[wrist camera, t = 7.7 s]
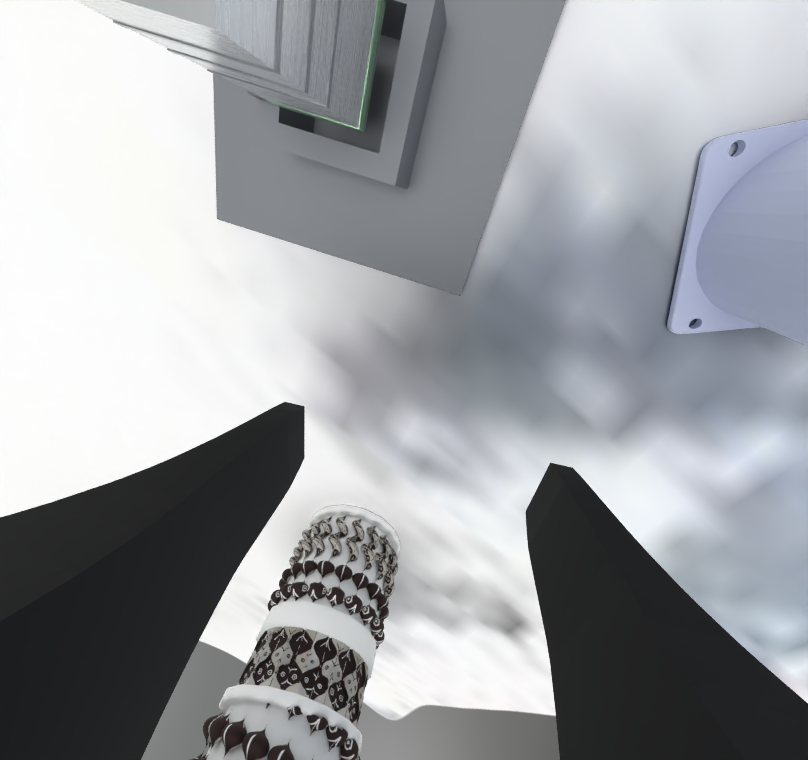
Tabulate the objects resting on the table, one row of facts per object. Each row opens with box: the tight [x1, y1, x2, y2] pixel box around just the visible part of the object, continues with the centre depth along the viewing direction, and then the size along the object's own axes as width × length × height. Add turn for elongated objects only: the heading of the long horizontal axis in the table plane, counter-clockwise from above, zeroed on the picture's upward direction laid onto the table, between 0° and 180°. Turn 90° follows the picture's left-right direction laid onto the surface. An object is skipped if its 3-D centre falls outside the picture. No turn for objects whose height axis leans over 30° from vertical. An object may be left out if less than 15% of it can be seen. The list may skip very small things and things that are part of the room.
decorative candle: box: [190, 505, 400, 760], centre depth 18 cm, size 9×9×25 cm
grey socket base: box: [213, 0, 566, 296], centre depth 12 cm, size 13×13×5 cm
